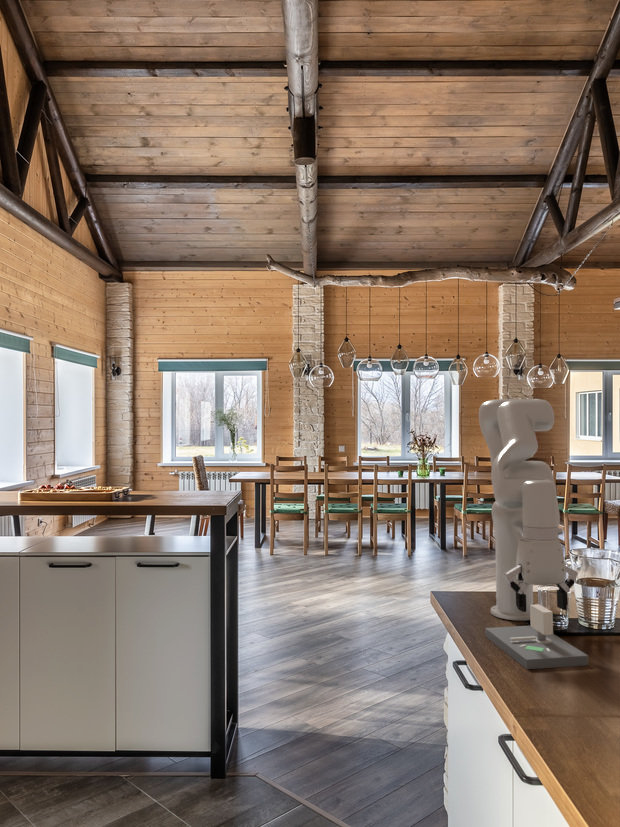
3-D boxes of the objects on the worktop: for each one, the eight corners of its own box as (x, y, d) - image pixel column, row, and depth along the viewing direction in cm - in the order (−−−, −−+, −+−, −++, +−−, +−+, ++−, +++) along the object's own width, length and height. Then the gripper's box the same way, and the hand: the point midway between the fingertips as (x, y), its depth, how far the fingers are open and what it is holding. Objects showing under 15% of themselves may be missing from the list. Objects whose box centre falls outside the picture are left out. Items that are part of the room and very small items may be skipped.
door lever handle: (504, 635, 155) (504, 606, 155) (539, 633, 156) (539, 604, 156) (516, 645, 149) (516, 613, 149) (553, 642, 150) (552, 612, 150)
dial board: (485, 636, 163) (485, 627, 163) (539, 633, 165) (539, 624, 165) (526, 669, 141) (526, 659, 141) (588, 665, 143) (588, 655, 143)
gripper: (567, 531, 158) (569, 604, 157) (497, 533, 156) (499, 607, 155) (584, 535, 151) (586, 612, 150) (511, 537, 148) (513, 615, 147)
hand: (542, 609), depth 152 cm, fingers open, 9 cm apart
